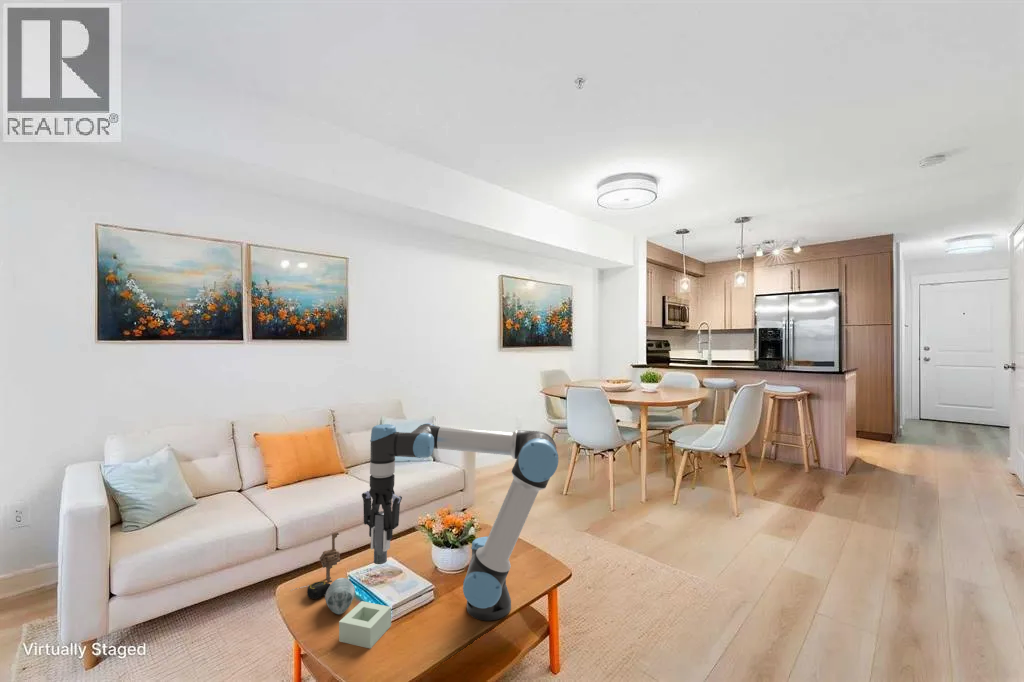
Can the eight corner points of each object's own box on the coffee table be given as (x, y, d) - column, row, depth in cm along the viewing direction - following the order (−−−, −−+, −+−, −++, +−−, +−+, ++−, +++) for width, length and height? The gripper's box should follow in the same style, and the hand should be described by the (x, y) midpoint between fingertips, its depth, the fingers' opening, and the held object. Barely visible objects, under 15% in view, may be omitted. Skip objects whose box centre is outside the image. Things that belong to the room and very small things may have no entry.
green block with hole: (391, 625, 141) (391, 606, 141) (370, 648, 130) (370, 628, 130) (361, 619, 144) (361, 601, 144) (339, 641, 134) (339, 621, 134)
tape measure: (314, 602, 152) (313, 591, 153) (303, 597, 156) (303, 586, 157) (332, 593, 158) (331, 583, 158) (321, 589, 162) (321, 578, 162)
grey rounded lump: (355, 612, 144) (355, 578, 148) (323, 618, 141) (324, 583, 144) (354, 605, 156) (354, 574, 160) (325, 611, 153) (326, 579, 156)
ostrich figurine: (337, 575, 172) (337, 528, 172) (341, 583, 166) (340, 535, 166) (289, 587, 163) (289, 538, 163) (290, 596, 157) (290, 546, 157)
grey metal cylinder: (389, 559, 141) (390, 512, 141) (381, 565, 137) (383, 517, 137) (378, 557, 142) (379, 510, 142) (371, 563, 138) (372, 515, 138)
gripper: (412, 474, 141) (410, 547, 140) (367, 468, 146) (365, 539, 146) (398, 481, 133) (396, 558, 133) (352, 474, 139) (350, 549, 139)
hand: (380, 548), depth 140 cm, fingers closed on grey metal cylinder, 4 cm apart
